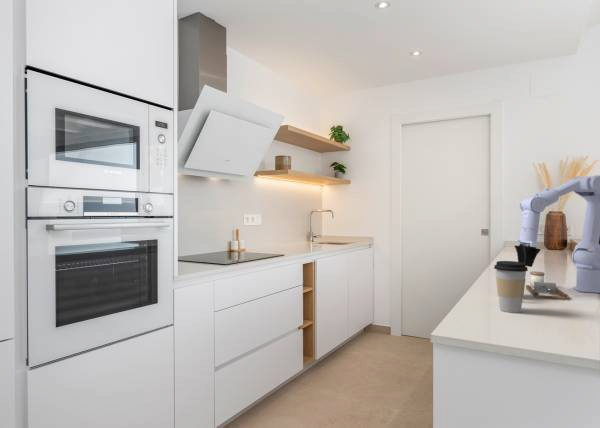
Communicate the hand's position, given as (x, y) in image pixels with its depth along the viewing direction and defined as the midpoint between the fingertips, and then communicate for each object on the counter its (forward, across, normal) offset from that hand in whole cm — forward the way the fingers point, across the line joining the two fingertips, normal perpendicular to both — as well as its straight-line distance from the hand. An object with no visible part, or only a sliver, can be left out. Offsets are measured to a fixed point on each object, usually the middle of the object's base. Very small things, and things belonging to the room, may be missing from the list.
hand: (524, 265), depth 150 cm
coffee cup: (+13, +27, -11) cm, 32 cm away
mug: (+12, +9, -6) cm, 16 cm away
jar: (+9, -14, +10) cm, 19 cm away
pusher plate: (+10, +1, +8) cm, 13 cm away
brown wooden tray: (+10, -2, +9) cm, 13 cm away
